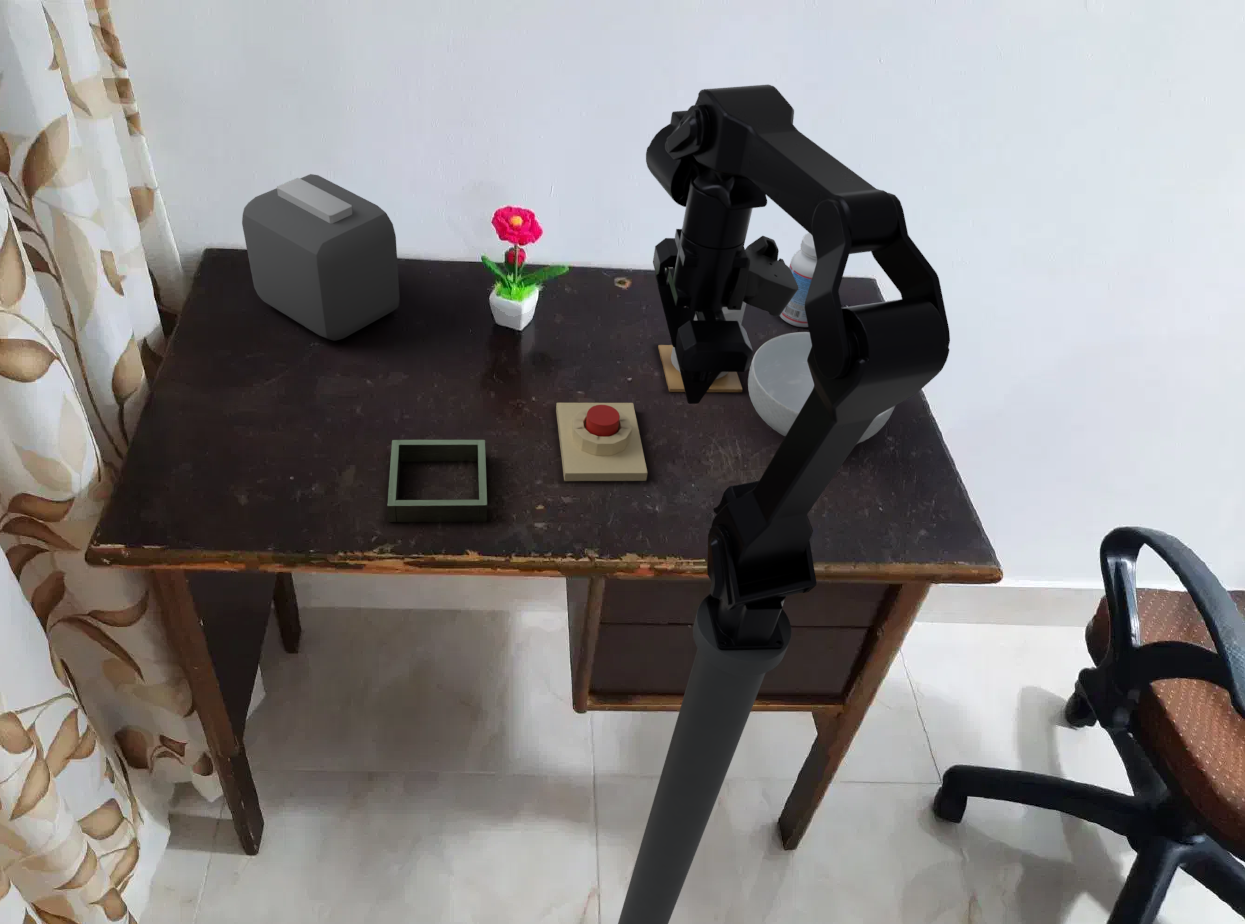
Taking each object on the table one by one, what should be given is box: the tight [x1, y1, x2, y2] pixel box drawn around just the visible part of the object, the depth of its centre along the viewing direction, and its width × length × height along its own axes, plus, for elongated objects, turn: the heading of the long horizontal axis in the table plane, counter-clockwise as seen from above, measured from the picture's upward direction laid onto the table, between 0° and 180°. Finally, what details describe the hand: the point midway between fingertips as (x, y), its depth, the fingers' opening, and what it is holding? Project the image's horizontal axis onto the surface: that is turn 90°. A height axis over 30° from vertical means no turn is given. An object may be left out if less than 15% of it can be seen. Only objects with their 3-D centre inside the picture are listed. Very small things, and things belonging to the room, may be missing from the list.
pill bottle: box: [779, 232, 817, 328], centre depth 124 cm, size 6×6×11 cm
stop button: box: [586, 405, 620, 437], centre depth 105 cm, size 4×4×2 cm
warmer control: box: [555, 402, 648, 482], centre depth 106 cm, size 12×9×3 cm
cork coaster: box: [657, 344, 743, 393], centre depth 118 cm, size 9×9×1 cm
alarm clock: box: [241, 173, 401, 342], centre depth 116 cm, size 16×11×16 cm
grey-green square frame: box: [387, 439, 488, 523], centre depth 100 cm, size 10×10×2 cm
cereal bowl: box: [747, 331, 896, 445], centre depth 110 cm, size 17×17×7 cm
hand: (685, 373), depth 96 cm, fingers open, 9 cm apart
